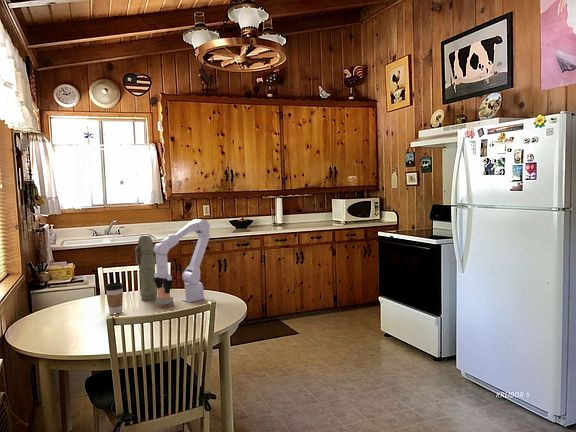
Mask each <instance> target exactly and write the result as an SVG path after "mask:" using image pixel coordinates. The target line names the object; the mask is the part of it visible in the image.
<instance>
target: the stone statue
mask: <svg viewBox="0 0 576 432" xmlns="http://www.w3.org/2000/svg"><path fill="white" fill-rule="evenodd" d="M137 242H138V243H137V245H136V246H135V248H134V253H135V254H134V256H135V264H136V265H138V269H139V276H140V277H139V278H140V286H139V291H140V294H139V295H140V298H141V299H140V300H141V301H144V302H149V301H156V298H158V289H157V286H156V284H155V282H154V280H153V278H155V277H154V273H156V254H155V253H154V251H153V249H154V247H155V245H156V243H153V242H154V241H153V239H152V236H150V235H141V236H139V237H138V241H137Z"/></svg>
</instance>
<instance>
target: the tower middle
mask: <svg viewBox="0 0 576 432" xmlns="http://www.w3.org/2000/svg"><path fill="white" fill-rule="evenodd" d="M171 302H174V296H170V297H169V298H165V299H161V298H158V297H157V298H156V299H155V303H158V304H168V303H171Z"/></svg>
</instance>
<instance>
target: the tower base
mask: <svg viewBox="0 0 576 432" xmlns="http://www.w3.org/2000/svg"><path fill="white" fill-rule="evenodd" d="M154 306H155V307H156V308H158V309H162V310H163V309H168V308H171V307H175V302H174V301H173V302H171V303H168V304H158V303H156V302H155V303H154Z"/></svg>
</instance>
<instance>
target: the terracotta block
mask: <svg viewBox="0 0 576 432" xmlns="http://www.w3.org/2000/svg"><path fill="white" fill-rule="evenodd" d="M169 297H171V292H170V293H168V294H165V290H164V286H163V287H161V288H157V298H161V299H165V298H169Z"/></svg>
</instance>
